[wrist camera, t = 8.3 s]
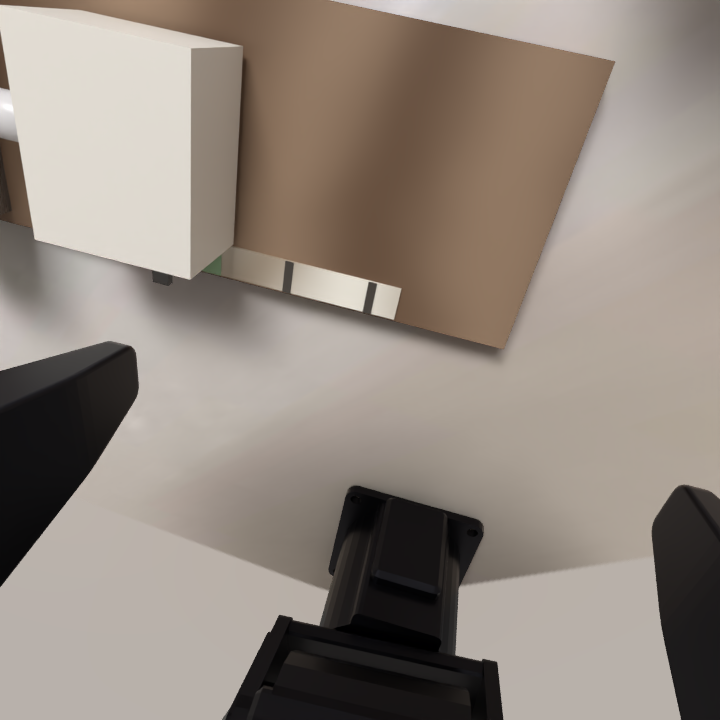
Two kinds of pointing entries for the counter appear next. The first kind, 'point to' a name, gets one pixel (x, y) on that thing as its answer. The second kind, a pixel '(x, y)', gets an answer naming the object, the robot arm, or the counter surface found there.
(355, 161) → the base
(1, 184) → the gray concrete brick
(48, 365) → the robot arm
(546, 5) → the counter surface
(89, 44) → the gauge carriage
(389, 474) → the counter surface
